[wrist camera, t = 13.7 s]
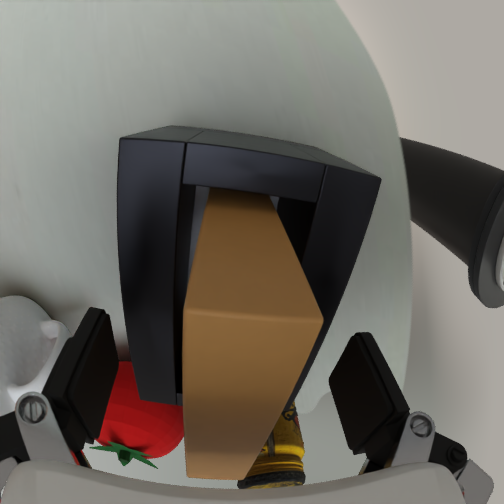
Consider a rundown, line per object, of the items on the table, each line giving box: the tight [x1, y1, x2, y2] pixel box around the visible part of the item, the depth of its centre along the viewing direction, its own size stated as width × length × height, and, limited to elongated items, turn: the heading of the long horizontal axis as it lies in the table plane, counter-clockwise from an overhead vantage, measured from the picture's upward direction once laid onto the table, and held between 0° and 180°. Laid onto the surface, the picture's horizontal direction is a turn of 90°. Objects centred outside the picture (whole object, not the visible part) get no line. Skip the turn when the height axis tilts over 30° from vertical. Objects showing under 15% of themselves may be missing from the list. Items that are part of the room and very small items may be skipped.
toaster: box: [117, 126, 382, 411], centre depth 15 cm, size 14×9×8 cm, turn 170°
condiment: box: [237, 402, 305, 489], centre depth 21 cm, size 7×8×12 cm
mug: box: [0, 295, 72, 416], centre depth 15 cm, size 15×11×13 cm
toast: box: [182, 187, 323, 480], centre depth 12 cm, size 10×2×11 cm, turn 170°
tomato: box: [90, 361, 184, 469], centre depth 21 cm, size 10×10×10 cm
